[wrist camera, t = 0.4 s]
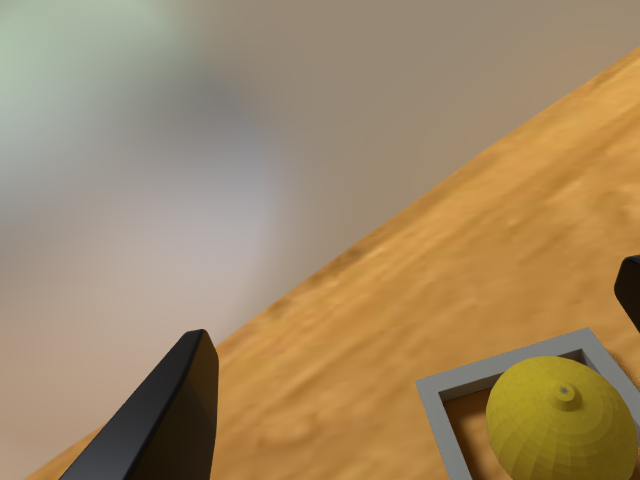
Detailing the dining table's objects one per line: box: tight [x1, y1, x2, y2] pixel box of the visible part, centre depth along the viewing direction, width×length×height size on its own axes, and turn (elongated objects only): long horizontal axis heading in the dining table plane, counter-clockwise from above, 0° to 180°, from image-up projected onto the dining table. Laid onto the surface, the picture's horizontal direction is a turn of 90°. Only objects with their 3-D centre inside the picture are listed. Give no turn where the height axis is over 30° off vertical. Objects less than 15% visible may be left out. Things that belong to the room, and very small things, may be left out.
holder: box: [415, 327, 640, 480], centre depth 19 cm, size 10×10×2 cm
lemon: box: [486, 356, 638, 480], centre depth 17 cm, size 6×6×8 cm
